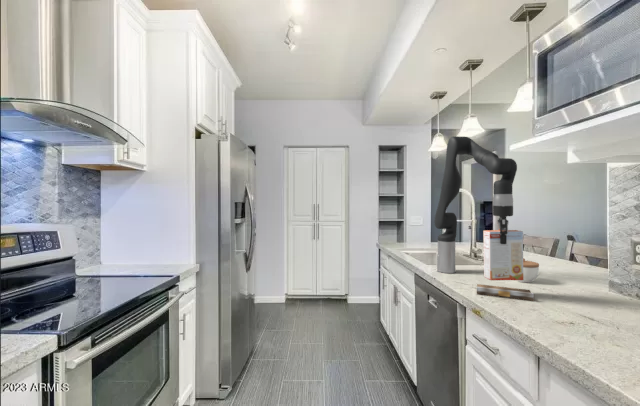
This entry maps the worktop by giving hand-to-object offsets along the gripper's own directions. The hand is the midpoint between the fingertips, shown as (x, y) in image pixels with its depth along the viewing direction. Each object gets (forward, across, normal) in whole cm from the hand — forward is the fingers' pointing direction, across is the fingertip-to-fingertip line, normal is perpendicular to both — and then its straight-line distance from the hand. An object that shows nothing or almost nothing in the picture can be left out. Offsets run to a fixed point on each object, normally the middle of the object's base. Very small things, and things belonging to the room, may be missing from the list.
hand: (502, 242), depth 132 cm
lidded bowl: (+22, -29, +10) cm, 38 cm away
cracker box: (+16, 0, 0) cm, 16 cm away
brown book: (+22, +1, 0) cm, 22 cm away
